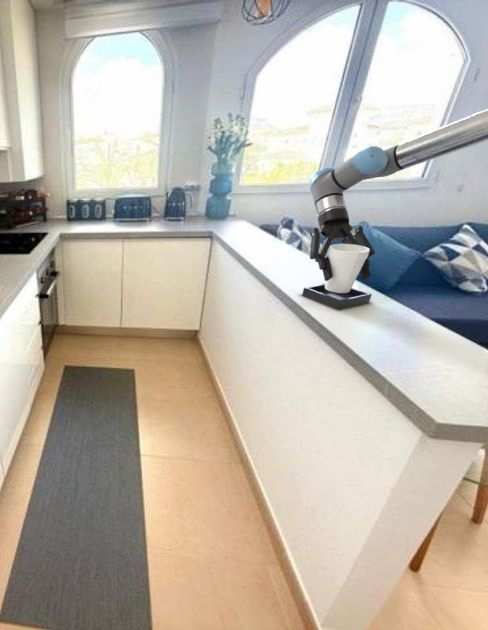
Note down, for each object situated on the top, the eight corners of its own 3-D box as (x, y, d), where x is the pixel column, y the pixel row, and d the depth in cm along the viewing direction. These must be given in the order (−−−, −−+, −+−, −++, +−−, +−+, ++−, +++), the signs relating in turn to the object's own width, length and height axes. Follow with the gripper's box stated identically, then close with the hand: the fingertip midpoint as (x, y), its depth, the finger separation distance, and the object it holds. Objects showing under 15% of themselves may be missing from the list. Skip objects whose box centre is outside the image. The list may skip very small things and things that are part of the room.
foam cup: (340, 282, 110) (351, 242, 105) (364, 293, 102) (378, 250, 96) (311, 285, 110) (321, 245, 104) (333, 296, 102) (345, 253, 96)
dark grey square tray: (369, 302, 104) (372, 294, 102) (338, 309, 101) (340, 301, 100) (330, 289, 114) (333, 281, 113) (301, 295, 111) (303, 287, 110)
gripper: (362, 219, 110) (379, 283, 103) (288, 222, 113) (300, 284, 106) (379, 204, 103) (398, 272, 96) (300, 208, 106) (313, 273, 99)
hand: (347, 278), depth 101 cm, fingers closed on foam cup, 9 cm apart
